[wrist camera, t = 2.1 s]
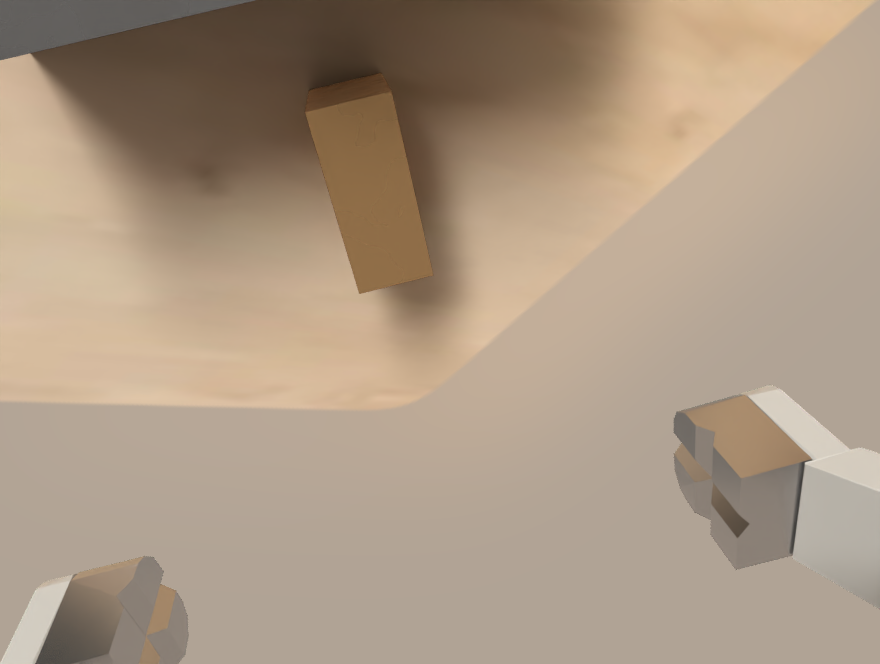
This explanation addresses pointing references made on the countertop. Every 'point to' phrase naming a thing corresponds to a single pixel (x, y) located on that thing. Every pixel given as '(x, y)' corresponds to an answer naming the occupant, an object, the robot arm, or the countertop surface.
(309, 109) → the brown wooden block
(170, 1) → the post box
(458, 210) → the countertop surface
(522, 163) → the countertop surface
